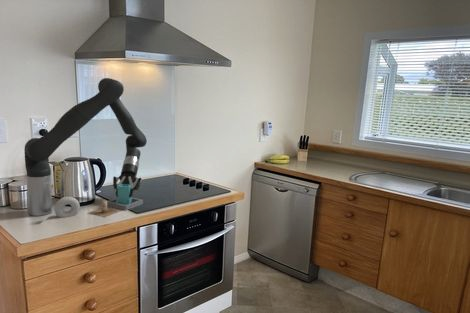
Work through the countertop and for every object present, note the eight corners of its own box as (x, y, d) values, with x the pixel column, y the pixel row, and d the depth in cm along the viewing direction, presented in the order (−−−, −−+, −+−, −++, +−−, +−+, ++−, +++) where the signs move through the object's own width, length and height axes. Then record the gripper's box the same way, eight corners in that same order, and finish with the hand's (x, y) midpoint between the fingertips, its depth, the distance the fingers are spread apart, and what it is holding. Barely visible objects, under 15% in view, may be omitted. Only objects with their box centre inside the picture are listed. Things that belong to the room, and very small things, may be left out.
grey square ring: (106, 208, 166) (106, 201, 166) (124, 202, 177) (124, 195, 177) (125, 213, 161) (125, 206, 161) (142, 206, 172) (143, 199, 172)
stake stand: (87, 216, 155) (87, 202, 154) (104, 210, 164) (104, 196, 163) (104, 220, 151) (104, 206, 150) (120, 214, 160) (120, 200, 159)
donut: (55, 222, 146) (54, 199, 145) (54, 219, 149) (53, 196, 148) (80, 218, 152) (80, 196, 150) (79, 216, 155) (78, 194, 153)
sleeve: (117, 204, 166) (117, 186, 165) (120, 201, 171) (120, 183, 170) (128, 205, 167) (128, 186, 165) (131, 201, 172) (131, 184, 170)
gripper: (114, 162, 173) (106, 192, 163) (143, 163, 174) (137, 193, 164) (117, 170, 179) (110, 199, 169) (145, 171, 180) (140, 201, 170)
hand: (123, 196), depth 167 cm, fingers closed on sleeve, 5 cm apart
